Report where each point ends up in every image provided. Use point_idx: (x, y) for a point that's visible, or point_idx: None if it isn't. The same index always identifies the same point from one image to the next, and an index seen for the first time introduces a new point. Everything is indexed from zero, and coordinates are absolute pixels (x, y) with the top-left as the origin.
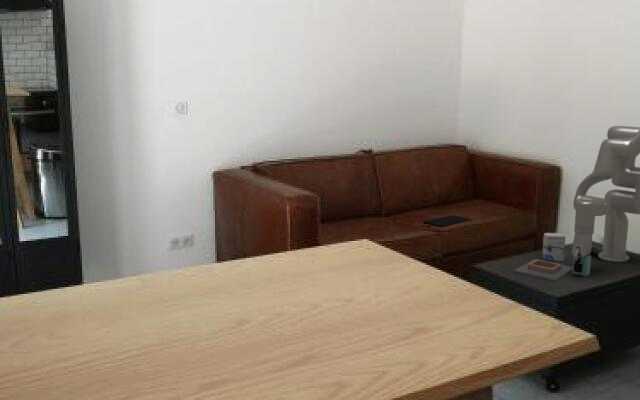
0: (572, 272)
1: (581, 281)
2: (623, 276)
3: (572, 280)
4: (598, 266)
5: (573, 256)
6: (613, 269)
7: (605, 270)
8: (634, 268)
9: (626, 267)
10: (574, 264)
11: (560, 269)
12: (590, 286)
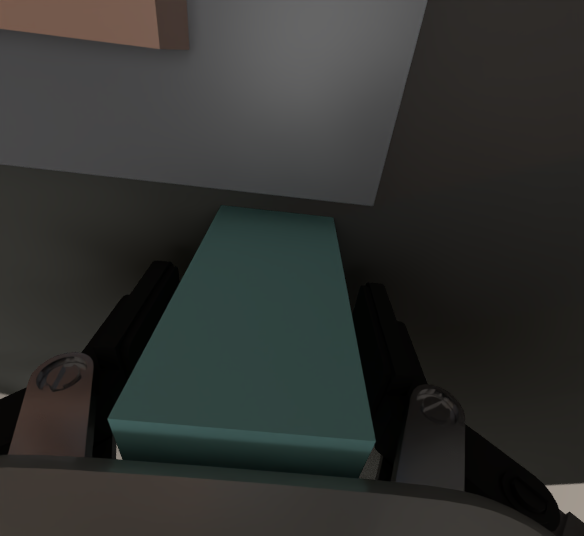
0: (219, 213)
1: (58, 328)
2: (365, 468)
3: (5, 268)
4: (566, 348)
5: (127, 391)
6: (503, 425)
7: (457, 397)
8: (559, 484)
9: (574, 462)
10: (113, 322)
11: (145, 49)
12: (20, 387)
